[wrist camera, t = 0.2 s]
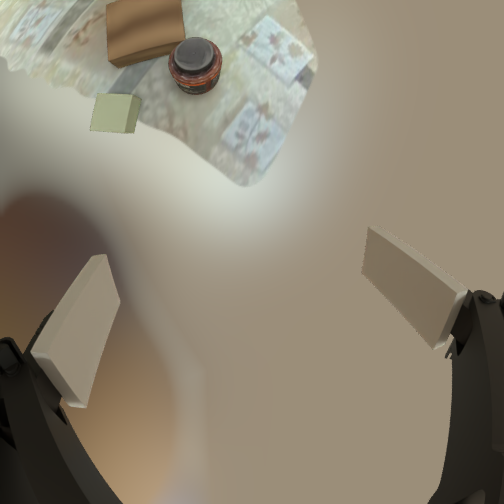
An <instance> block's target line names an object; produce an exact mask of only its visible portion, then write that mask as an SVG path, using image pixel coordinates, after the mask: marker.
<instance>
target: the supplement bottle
mask: <svg viewBox="0 0 504 504" xmlns="http://www.w3.org/2000/svg"><path fill="white" fill-rule="evenodd" d="M168 64H169V70H170V72H171V74H172V76H173V78H174V79H175V81H176V83H177V84H178V86H179V87H180V88H181V89H182V90H183V91H185V92H187V93H189V94H194V95H198V94H203V93H206V92H208V91H209V90H211V89H212V88H213V87H214V86H215V85H216V83H217V82H218V79H219V76H220V70H221V65H222V55H221V52H220V50H219V48H218V47H217V46H216V45H215V44H214V43H213V42H211V41H209V40H207V39H203V38H199V37H192V38H188V39H186V40H184V41H182V42H181V43H180V44H179V45H177V46H176V47H175V48H174V49H173V51H172V52H171V55H170V57H169V62H168Z"/></svg>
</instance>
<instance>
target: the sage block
mask: <svg viewBox="0 0 504 504" xmlns="http://www.w3.org/2000/svg"><path fill="white" fill-rule="evenodd" d="M140 103H141V99H140V98H138V97H136V96H134V95H127V94H107V93H97V97H96V102H95V107H94V111H93V116H92V121H91V126H90V131H103V132H116V133H134V131H135V126H136V122H137V116H138V112H139V108H140Z"/></svg>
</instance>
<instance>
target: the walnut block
mask: <svg viewBox="0 0 504 504" xmlns="http://www.w3.org/2000/svg"><path fill="white" fill-rule="evenodd" d="M106 18H107V47H108V61H109V62H111V63H112V64H113V65H115V66H116V67H118V68H122V67H125V66H128V65H131V64H134V63H138V62H141V61H145V60H149V59H152V58H156V57H160V56H164V55H169V54H171V52H172V51H173V49H174V48H175V47H176V46H177V45H179V44H180V43H181V42H182V41H184V40H186V39H185V31H184V23H183V14H182V5H181V0H119V1H116V2H113V3H110V4H108V5H107V6H106Z"/></svg>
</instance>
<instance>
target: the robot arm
mask: <svg viewBox="0 0 504 504" xmlns="http://www.w3.org/2000/svg"><path fill="white" fill-rule="evenodd" d="M362 274H363V275H364V276H365V277H366V278H367V279H368V280H369V281H370V282H371V283H372V284H373V285H374V286H375V287H376V288H377V289H378V290H379V291H380V292H381V293H382V294H383V295H384V296H385V297H386V299H387V300H388V301H389V302H390V303H391V304H392V305H393V306H394V307H395V308H396V309H397V310H398V311H399V312H400V313H401V315H402V316H403V317H404V318H405V319H406V320H407V321H408V322H409V323H410V324H411V325H412V326H413V328H414V329H415V330H416V331H417V332H418V333H419V334H420V336H421V337H422V338H423V339H424V340H425V341H426V342H427V344H428V345H429V346H430V347H431V348H432V349H433V350H435V349H437V348H439V347H441V346H443V345H445V343H446V341H447V339H448V337H449V335H450V333H451V334H452V335H453V336H454V339H453V341H452V343H451V345H450V347H449V349H448V351H447V353H446V355H445V358H447V357H448V355H449V353H452V355H451V357H450V359H452V403H451V417H450V428H449V437H448V444H447V451H446V456H445V462H444V467H443V472H442V477H441V481H440V484H439V487H438V489H437V491H436V492H435V493H434V494H433V496H432V497H431V499H430V500H429V502H428V504H504V293H503V295H502V298H501V299H497V300H496V298H495V297H494V296H493V295H491V294H490V293H488V292H486V291H482V290H477V291H475V292H474V293H472V292H471V291H470V290H468V289H467V288H466V287H465V286H464V285H462V284H461V283H460V282H459V281H457V280H456V279H455V278H453V277H452V276H451V275H449V274H448V273H447V272H446V271H444V270H443V269H441V268H440V267H439V266H437V265H436V264H435V263H433V262H432V261H431V260H429V259H428V258H426V257H425V256H424V255H422V254H421V253H419V252H418V251H416V250H415V249H413V248H412V247H411V246H409V245H408V244H406V243H405V242H403V241H402V240H400V239H399V238H397V237H396V236H394V235H393V234H391V233H390V232H388V231H387V230H385V229H383V228H382V227H380V226H373V227H368V230H367V239H366V246H365V253H364V260H363V266H362ZM119 305H120V299H119V296H118V293H117V290H116V287H115V283H114V280H113V277H112V274H111V270H110V267H109V263H108V259H107V256H106V254H102V255H95V256H92V257H91V259H90V260H89V261H88V263H87V264H86V265H85V267H84V268H83V269H82V271H81V272H80V273H79V275H78V276H77V278H76V279H75V280H74V282H73V283H72V285H71V286H70V288H69V289H68V291H67V292H66V293H65V295H64V297H63V298H62V299H61V301H60V303H59V304H58V306H57V307H56V309H55V310H53V311H51V312H50V313H49V314H48V315H47V316H46V317H45V318H44V319H43V321H42V323H41V324H40V328H38V329H37V331H36V333H35V335H34V336H33V338H32V339H31V341H30V343H29V345H28V346H27V348H26V350H25V352H24V353H23V354H22V353H21V351H20V349H19V348H18V346H17V345H16V343H15V341H14V339H12V338H10V337H4V338H2V339H0V504H123V503H122V502H121V501H120V500H119V498H118V497H117V496H116V495H115V493H114V492H113V491H112V489H111V488H110V487H109V485H108V484H107V483H106V481H105V480H104V479H103V477H102V476H101V474H100V473H99V471H98V470H97V468H96V467H95V465H94V464H93V462H92V460H91V459H90V457H89V456H88V454H87V453H86V451H85V449H84V447H83V446H82V444H81V442H80V441H79V439H78V437H77V435H76V433H75V431H74V430H73V428H72V426H71V424H70V422H69V420H68V418H67V416H66V414H65V412H64V410H63V408H62V407H61V406H60V404H59V403H60V400H61V397H63V399H64V400H65V401H66V402H67V403H68V405H69V406H72V407H80V408H87V404H88V400H89V396H90V392H91V389H92V385H93V381H94V378H95V375H96V371H97V368H98V365H99V362H100V358H101V355H102V352H103V349H104V346H105V343H106V340H107V337H108V335H109V332H110V329H111V326H112V323H113V321H114V318H115V315H116V313H117V310H118V308H119Z"/></svg>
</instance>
